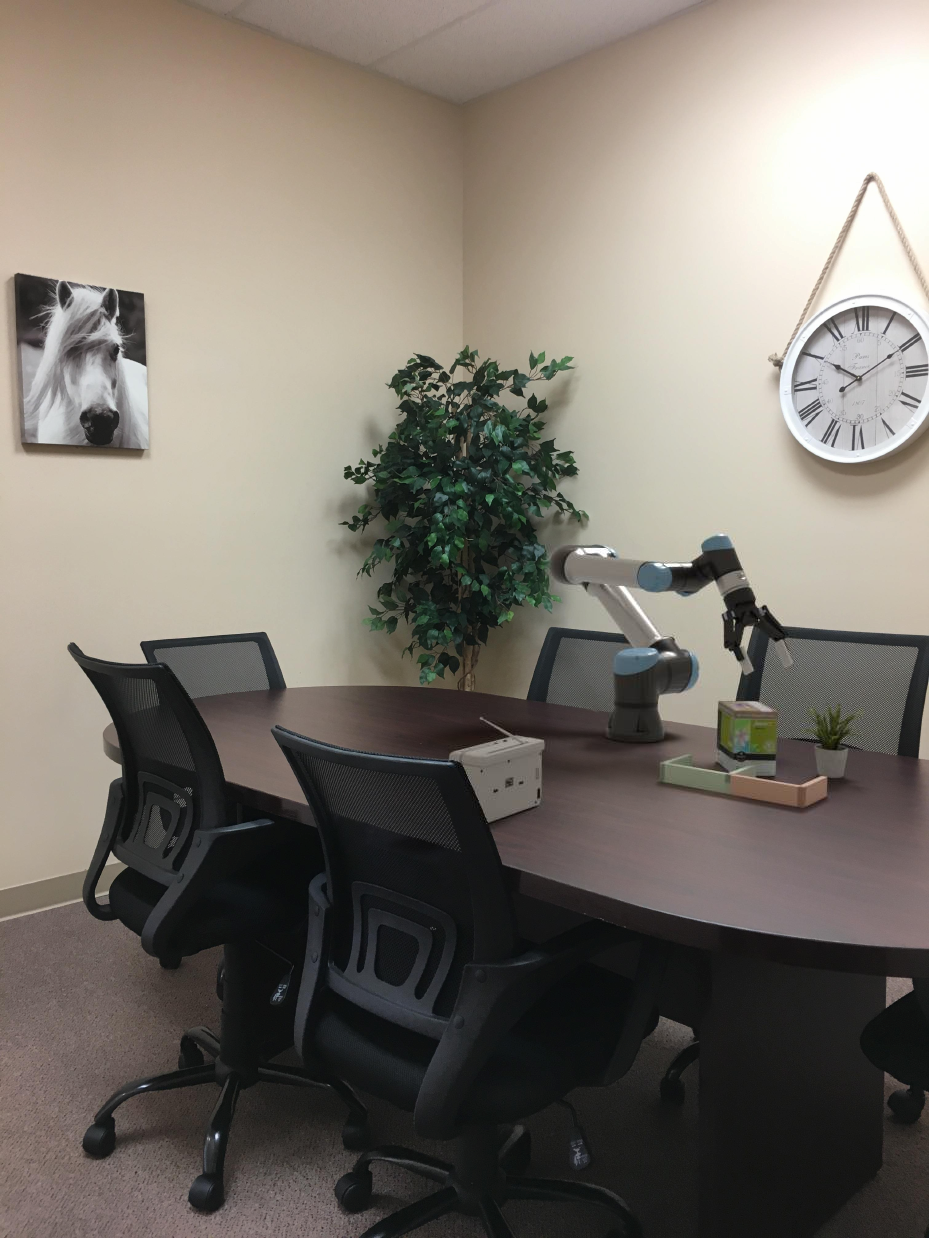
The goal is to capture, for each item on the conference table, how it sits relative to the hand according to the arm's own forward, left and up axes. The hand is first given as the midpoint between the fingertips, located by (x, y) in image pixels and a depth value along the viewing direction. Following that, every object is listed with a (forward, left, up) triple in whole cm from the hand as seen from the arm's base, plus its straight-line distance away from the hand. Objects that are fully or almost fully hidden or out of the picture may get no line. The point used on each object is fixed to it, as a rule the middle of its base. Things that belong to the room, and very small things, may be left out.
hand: (769, 669), depth 234 cm
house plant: (+22, -15, -21) cm, 34 cm away
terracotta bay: (+20, -39, -20) cm, 48 cm away
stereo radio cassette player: (-14, -87, -21) cm, 91 cm away
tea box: (+4, -21, -21) cm, 30 cm away
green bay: (+4, -38, -20) cm, 44 cm away
